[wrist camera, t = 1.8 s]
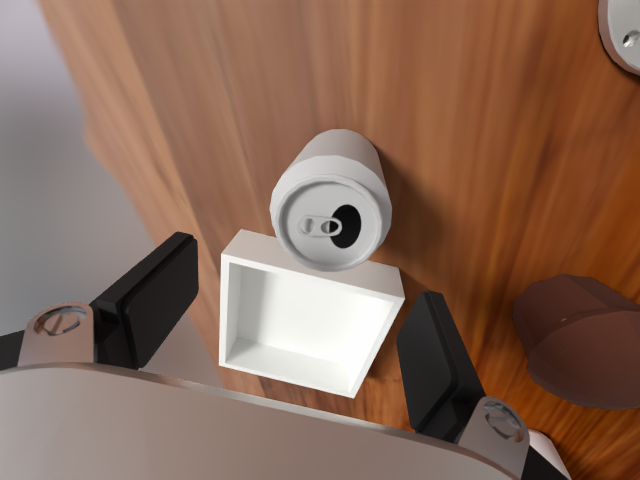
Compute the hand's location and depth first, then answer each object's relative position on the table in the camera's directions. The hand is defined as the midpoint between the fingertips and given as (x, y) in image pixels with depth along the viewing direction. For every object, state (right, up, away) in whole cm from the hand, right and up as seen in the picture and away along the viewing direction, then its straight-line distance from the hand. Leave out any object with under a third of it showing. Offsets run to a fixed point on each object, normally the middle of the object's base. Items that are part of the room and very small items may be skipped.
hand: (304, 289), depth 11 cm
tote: (-1, -6, +23) cm, 24 cm away
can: (+3, +9, +14) cm, 17 cm away
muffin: (+27, -5, +19) cm, 33 cm away
